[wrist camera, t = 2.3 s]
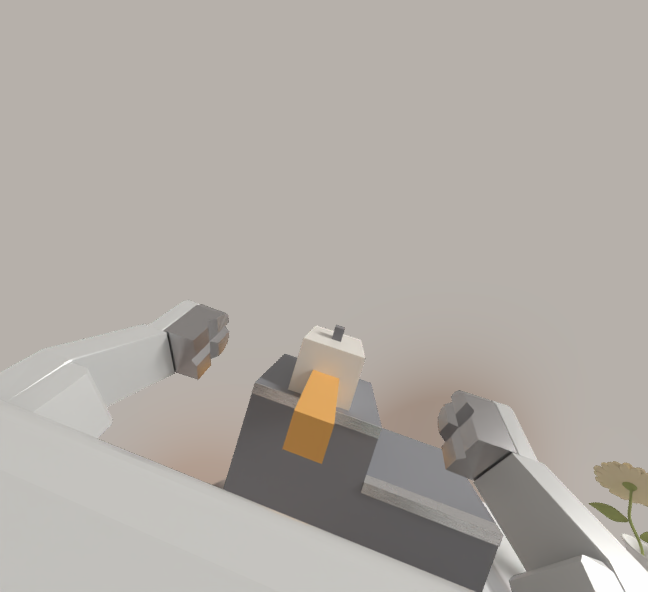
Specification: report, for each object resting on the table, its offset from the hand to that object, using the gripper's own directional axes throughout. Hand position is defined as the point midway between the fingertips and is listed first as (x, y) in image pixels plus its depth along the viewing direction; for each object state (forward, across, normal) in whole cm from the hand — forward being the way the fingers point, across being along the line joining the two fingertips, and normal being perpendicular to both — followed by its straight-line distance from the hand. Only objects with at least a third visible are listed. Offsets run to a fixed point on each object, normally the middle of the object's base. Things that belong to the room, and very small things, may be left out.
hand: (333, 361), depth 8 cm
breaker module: (+11, 0, -17) cm, 20 cm away
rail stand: (+2, +7, -42) cm, 43 cm away
